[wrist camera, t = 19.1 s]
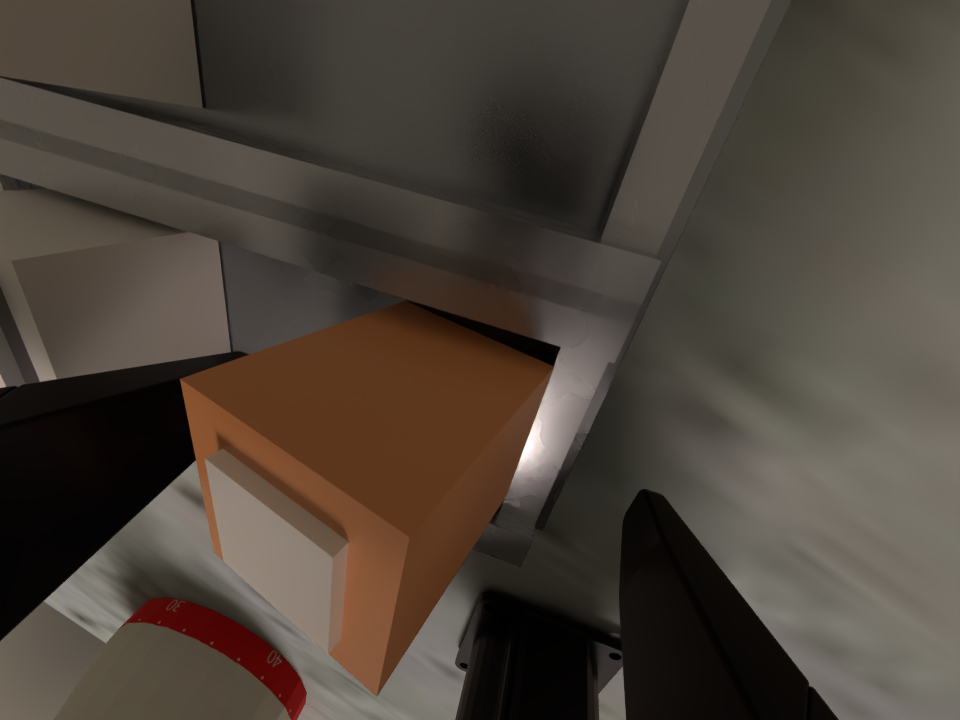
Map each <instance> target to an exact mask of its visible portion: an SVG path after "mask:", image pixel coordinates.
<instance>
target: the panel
mask: <svg viewBox="0 0 960 720" xmlns="http://www.w3.org/2000/svg"><path fill="white" fill-rule="evenodd" d="M190 1H191V10H192V19H193V27H194V36H195V45H196V53H197V62H198V71H199V80H200V88H201V97H202V106H203V108H197V107H191V106H184V105H178V104H172V103H166V102H159V101H153V100H147V99H141V98H134V97H128V96H122V95H116V94H109V93H103V92H97V91H91V90H84V89H78V88H72V87H66V86H59V85H53V84H47V83H41V82H34V81H28V80H22V79H16V78H9V77H3V76H0V191H6V190H33V189H51V190H55V191H58V192H61V193H64V194H68V195H71V196H74V197H77V198H81V199H84V200H87V201H90V202H94V203H97V204H100V205H103V206H107V207H110V208H113V209H116V210H119V211H123V212H126V213H129V214H132V215H136V216H139V217H142V218H145V219H149V220H152V221H155V222H158V223H162V224H165V225H168V226H171V227H174V228H178V229H181V230H184V231H187V232H191V233H194V234H197V235H200V236H204V237H207V238H210V239H213V240H217V241H218V245H219V253H220V262H221V271H222V279H223V288H224V297H225V306H226V314H227V323H228V332H229V340H230V349H231V352H234V351H242V352H245V353H248V354H253V353H256V352H259V351H262V350H264V349H267V348H270V347H273V346H276V345H279V344H282V343H284V342H287V341H290V340H293V339H296V338H299V337H302V336H305V335H307V334H310V333H313V332H316V331H319V330H322V329H325V328H328V327H330V326H333V325H336V324H339V323H342V322H345V321H348V320H351V319H353V318H356V317H359V316H362V315H365V314H368V313H371V312H374V311H376V310H379V309H382V308H385V307H388V306H391V305H394V304H397V303H399V302H402V301H407V302H409V303H412V304H414V305H416V306H418V307H421V308H423V309H425V310H427V311H430V312H432V313H434V314H436V315H439V316H441V317H443V318H445V319H448V320H450V321H452V322H454V323H457V324H459V325H461V326H463V327H466V328H468V329H470V330H472V331H475V332H477V333H479V334H482V335H484V336H486V337H488V338H491V339H493V340H495V341H497V342H500V343H502V344H504V345H506V346H509V347H511V348H513V349H515V350H518V351H520V352H522V353H524V354H527V355H529V356H531V357H533V358H536V359H538V360H540V361H542V362H545V363H547V364H549V365H551V366H554V370H553V372H552V375H551V378H550V380H549V383H548V386H547V388H546V391H545V394H544V397H543V399H542V402H541V405H540V407H539V410H538V413H537V415H536V418H535V421H534V423H533V426H532V429H531V432H530V434H529V437H528V440H527V442H526V445H525V448H524V450H523V453H522V456H521V458H520V461H519V464H518V466H517V469H516V472H515V475H514V477H513V480H512V483H511V485H510V488H509V491H508V493H507V495H506V497H505V498H504V500H503V502H502V503H501V505H500V506H499V508H498V509H497V511H496V512H495V514H494V516H493V517H492V519H491V520H490V522H489V523H488V525H487V526H486V528H485V529H484V531H483V533H482V534H481V536H480V537H479V539H478V540H477V542H476V543H475V545H474V547H473V548H472V549H474V550H477V551H480V552H482V553H485V554H487V555H490V556H493V557H495V558H498V559H501V560H503V561H506V562H509V563H511V564H514V565H517V566H519V567H521V565H522V563H523V561H524V559H525V556H526V554H527V552H528V550H529V548H530V546H531V543H532V541H533V537H534V530H535V528H537V529H540V530H543V528H544V526H545V524H546V521H547V519H548V517H549V515H550V513H551V511H552V509H553V507H554V504H555V502H556V500H557V498H558V496H559V494H560V492H561V490H562V487H563V485H564V483H565V481H566V479H567V477H568V475H569V473H570V470H571V468H572V466H573V464H574V462H575V460H576V458H577V456H578V453H579V451H580V449H581V447H582V445H583V443H584V441H585V439H586V436H587V434H588V432H589V430H590V428H591V426H592V424H593V422H594V419H595V417H596V415H597V413H598V411H599V409H600V407H601V405H602V402H603V400H604V398H605V396H606V394H607V392H608V390H609V388H610V385H611V383H612V381H613V379H614V377H615V375H616V373H617V371H618V369H619V366H620V364H621V362H622V360H623V358H624V356H625V354H626V352H627V349H628V347H629V345H630V343H631V341H632V339H633V337H634V335H635V332H636V330H637V328H638V326H639V324H640V322H641V320H642V318H643V315H644V313H645V311H646V309H647V307H648V305H649V303H650V301H651V298H652V296H653V294H654V292H655V290H656V288H657V286H658V284H659V281H660V279H661V277H662V275H663V273H664V271H665V269H666V267H667V264H668V262H669V260H670V258H671V256H672V254H673V252H674V250H675V247H676V245H677V243H678V241H679V239H680V237H681V235H682V233H683V230H684V228H685V226H686V224H687V222H688V220H689V218H690V216H691V213H692V211H693V209H694V207H695V205H696V203H697V201H698V199H699V196H700V194H701V192H702V190H703V188H704V186H705V184H706V182H707V179H708V177H709V175H710V173H711V171H712V169H713V167H714V165H715V162H716V160H717V158H718V156H719V154H720V152H721V150H722V148H723V145H724V143H725V141H726V139H727V137H728V135H729V133H730V131H731V128H732V126H733V124H734V122H735V120H736V118H737V116H738V114H739V111H740V109H741V107H742V105H743V103H744V101H745V99H746V97H747V94H748V92H749V90H750V88H751V86H752V84H753V82H754V80H755V77H756V75H757V73H758V71H759V69H760V67H761V65H762V63H763V60H764V58H765V56H766V54H767V52H768V50H769V48H770V46H771V43H772V41H773V39H774V37H775V35H776V33H777V31H778V29H779V26H780V24H781V22H782V20H783V18H784V16H785V14H786V12H787V9H788V7H789V5H790V3H791V1H792V0H190Z"/></svg>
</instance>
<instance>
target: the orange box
mask: <svg viewBox="0 0 960 720" xmlns="http://www.w3.org/2000/svg"><path fill="white" fill-rule="evenodd" d="M553 370H554V366H551V365H549V364H547V363H545V362H542V361H540V360H538V359H536V358H533V357H531V356H529V355H527V354H524V353H522V352H520V351H518V350H515V349H513V348H511V347H509V346H506V345H504V344H502V343H500V342H497V341H495V340H493V339H491V338H488V337H486V336H484V335H482V334H479V333H477V332H475V331H472V330H470V329H468V328H466V327H463V326H461V325H459V324H457V323H454V322H452V321H450V320H448V319H445V318H443V317H441V316H439V315H436V314H434V313H432V312H430V311H427V310H425V309H423V308H421V307H418V306H416V305H414V304H412V303H409V302H407V301H402V302H399V303H397V304H394V305H391V306H388V307H385V308H382V309H379V310H376V311H374V312H371V313H368V314H365V315H362V316H359V317H356V318H353V319H351V320H348V321H345V322H342V323H339V324H336V325H333V326H330V327H328V328H325V329H322V330H319V331H316V332H313V333H310V334H307V335H305V336H302V337H299V338H296V339H293V340H290V341H287V342H284V343H282V344H279V345H276V346H273V347H270V348H267V349H264V350H262V351H259V352H256V353H253V354H250V355H247V356H244V357H241V358H239V359H236V360H233V361H230V362H227V363H224V364H221V365H218V366H216V367H213V368H210V369H207V370H204V371H201V372H198V373H195V374H193V375H190V376H187V377H184V378H181V379H180V382H181V387H182V392H183V397H184V402H185V407H186V412H187V417H188V422H189V427H190V432H191V437H192V442H193V447H194V452H195V457H196V462H197V467H198V472H199V477H200V482H201V487H202V493H203V498H204V503H205V508H206V513H207V518H208V523H209V528H210V533H211V538H212V543H213V548H214V552H215V553H216V554H217V555H218V556H219V557H220V558H221V559H222V560H223V562H224V563H225V564H227V565H228V566H229V567H230V568H231V569H232V570H233V571H234V572H236V573H237V574H238V575H239V576H240V577H241V578H242V579H243V580H245V581H246V582H247V583H248V584H249V585H250V586H251V587H252V588H254V589H255V590H256V591H257V592H258V593H259V594H260V595H261V596H263V597H264V598H265V599H266V600H267V601H268V602H269V603H270V604H272V605H273V606H274V607H275V608H276V609H277V610H278V611H279V612H280V613H282V614H283V615H284V616H285V617H286V618H287V619H288V620H289V621H291V622H292V623H293V624H294V625H295V626H296V627H297V628H298V629H300V630H301V631H302V632H303V633H304V634H305V635H306V636H307V637H309V638H310V639H311V640H312V641H313V642H314V643H315V644H316V645H318V646H319V647H320V648H321V649H322V650H323V651H324V652H325V653H327V654H329V655H330V656H332V657H333V658H334V659H335V660H336V661H337V662H338V663H339V664H341V665H342V666H343V667H344V668H345V669H346V670H347V671H348V672H350V673H351V674H352V675H353V676H354V677H355V678H356V679H357V680H359V681H360V682H361V683H362V684H363V685H364V686H365V687H366V688H368V689H369V690H370V691H371V692H372V693H373V694H374V695H375V696H378V694H379V692H380V691H381V689H382V688H383V686H384V685H385V683H386V682H387V680H388V678H389V677H390V675H391V674H392V672H393V671H394V669H395V668H396V666H397V664H398V663H399V661H400V660H401V658H402V657H403V655H404V654H405V652H406V651H407V649H408V647H409V646H410V644H411V643H412V641H413V640H414V638H415V637H416V635H417V633H418V632H419V630H420V629H421V627H422V626H423V624H424V623H425V621H426V619H427V618H428V616H429V615H430V613H431V612H432V610H433V609H434V607H435V606H436V604H437V602H438V601H439V599H440V598H441V596H442V595H443V593H444V592H445V590H446V588H447V587H448V585H449V584H450V582H451V581H452V579H453V578H454V576H455V574H456V573H457V571H458V570H459V568H460V567H461V565H462V564H463V562H464V561H465V559H466V557H467V556H468V554H469V553H470V551H471V550H472V548H473V547H474V545H475V543H476V542H477V540H478V539H479V537H480V536H481V534H482V533H483V531H484V529H485V528H486V526H487V525H488V523H489V522H490V520H491V519H492V517H493V516H494V514H495V512H496V511H497V509H498V508H499V506H500V505H501V503H502V502H503V500H504V498H505V497H506V495H507V493H508V491H509V488H510V485H511V483H512V480H513V477H514V475H515V472H516V469H517V466H518V464H519V461H520V458H521V456H522V453H523V450H524V448H525V445H526V442H527V440H528V437H529V434H530V432H531V429H532V426H533V423H534V421H535V418H536V415H537V413H538V410H539V407H540V405H541V402H542V399H543V397H544V394H545V391H546V388H547V386H548V383H549V380H550V378H551V375H552V372H553Z"/></svg>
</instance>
